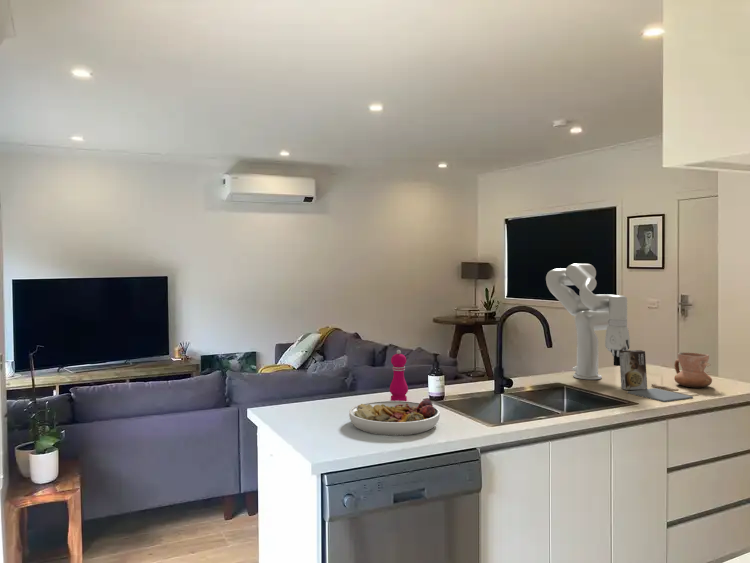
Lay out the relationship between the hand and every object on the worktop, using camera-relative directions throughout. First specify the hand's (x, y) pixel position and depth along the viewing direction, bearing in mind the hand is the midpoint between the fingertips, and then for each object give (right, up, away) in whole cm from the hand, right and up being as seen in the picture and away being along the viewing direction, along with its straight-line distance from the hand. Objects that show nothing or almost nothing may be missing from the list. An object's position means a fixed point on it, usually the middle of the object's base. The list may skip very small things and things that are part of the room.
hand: (617, 365), depth 262 cm
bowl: (-100, -12, -63) cm, 119 cm away
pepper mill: (-97, -10, -28) cm, 101 cm away
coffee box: (+4, -9, -8) cm, 13 cm away
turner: (+19, -9, -11) cm, 24 cm away
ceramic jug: (+32, -9, 0) cm, 33 cm away
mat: (+9, -10, -20) cm, 24 cm away
